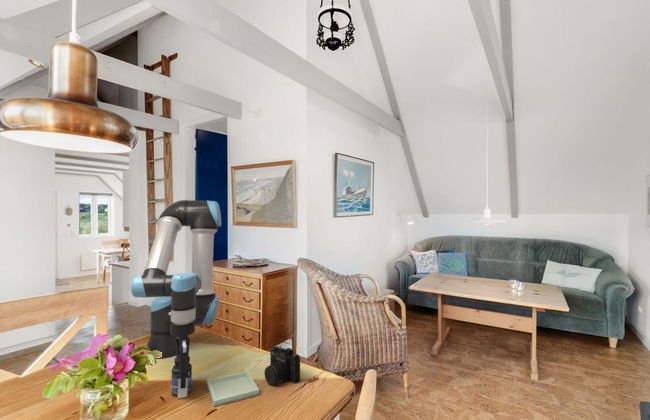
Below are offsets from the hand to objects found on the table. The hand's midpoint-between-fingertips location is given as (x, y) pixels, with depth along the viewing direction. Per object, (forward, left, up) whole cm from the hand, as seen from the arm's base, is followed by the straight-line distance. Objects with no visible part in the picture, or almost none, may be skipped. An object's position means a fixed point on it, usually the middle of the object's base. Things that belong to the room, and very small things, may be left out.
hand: (181, 391), depth 106 cm
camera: (+6, +32, -1) cm, 32 cm away
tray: (+6, +15, 0) cm, 16 cm away
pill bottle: (0, 0, 0) cm, 0 cm away
